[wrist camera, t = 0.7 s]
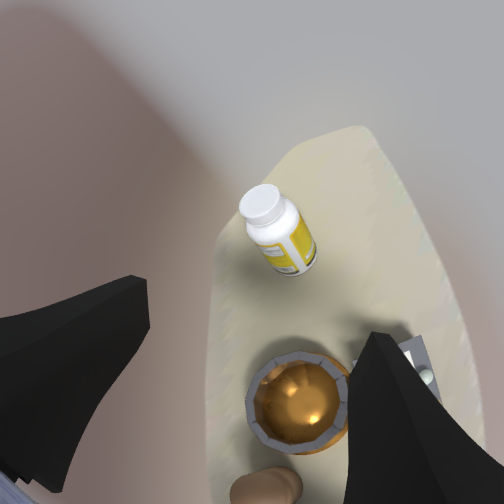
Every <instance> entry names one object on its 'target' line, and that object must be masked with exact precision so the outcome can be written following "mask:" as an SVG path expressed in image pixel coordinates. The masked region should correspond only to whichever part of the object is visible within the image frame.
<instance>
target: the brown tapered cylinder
mask: <svg viewBox="0 0 504 504" xmlns="http://www.w3.org/2000/svg"><path fill="white" fill-rule="evenodd" d="M302 491H303V484H302V481H301V478H300V477H299V476H298V474H297V473H296V472H294V471H293V470H291V469H289V468H286V467H281V466H276V467H271V468H268V469H265V470H262V471H258V472H255V473H252V474H248V475H245V476H242V477H240V478H239V479H237V480H236V481H235V482H234V484H233V485H232V487H231V490H230V501H231V504H294V503H295V502H296V501H297V500H298V499H299V498H300V496H301V494H302Z"/></svg>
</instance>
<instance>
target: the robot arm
mask: <svg viewBox="0 0 504 504" xmlns="http://www.w3.org/2000/svg"><path fill="white" fill-rule="evenodd" d="M149 329H150V321H149V310H148V297H147V282H146V279H143V278H140V277H136V276H133V275H129V276H126V277H123V278H120V279H117V280H114V281H112V282H109V283H107V284H104V285H102V286H99V287H97V288H94V289H92V290H89V291H87V292H84V293H82V294H79V295H77V296H74V297H71V298H68V299H66V300H63V301H60V302H57V303H55V304H52V305H49V306H46V307H43V308H40V309H37V310H33V311H30V312H26V313H22V314H19V315H14V316H9V317H4V318H0V504H38V503H37V502H35V501H34V500H33V499H32V498H30V497H29V496H28V495H27V494H26V493H25V492H24V491H22V490H21V489H20V488H19V487H18V486H17V485H16V484H15V482H16V481H17V479H18V478H20V479H22V480H23V481H24V482H25V483H26V484H29V483H30V482H31V480H32V479H34V480H35V481H37V482H38V483H39V484H41V485H42V486H44V487H45V488H46V489H48V490H49V491H50V492H52V493H60V492H62V489H63V485H64V482H65V479H66V475H67V472H68V469H69V466H70V463H71V461H72V458H73V456H74V453H75V451H76V448H77V446H78V443H79V441H80V439H81V437H82V435H83V433H84V431H85V428H86V426H87V424H88V423H89V421H90V419H91V417H92V415H93V413H94V411H95V410H96V408H97V406H98V404H99V403H100V401H101V400H102V398H103V397H104V395H105V394H106V393H107V391H108V390H109V388H110V387H111V386H112V384H113V383H114V382H115V380H116V379H117V377H118V376H119V375H120V374H121V372H122V371H123V370H124V368H125V367H126V366H127V364H128V363H129V362H130V360H131V359H132V358H133V356H134V355H135V353H136V352H137V350H138V349H139V347H140V345H141V344H142V342H143V340H144V338H145V336H146V334H147V333H148V330H149ZM347 415H348V454H349V463H348V477H347V484H346V491H345V497H344V503H343V504H504V466H502V465H501V464H499V463H498V462H497V461H496V460H495V459H493V458H492V457H491V456H489V454H487V453H486V452H485V451H484V450H483V449H482V448H481V447H480V446H479V445H478V444H477V443H476V442H474V441H473V440H472V439H471V438H470V437H469V436H468V435H467V433H466V432H465V431H464V430H463V429H462V428H461V427H460V426H459V425H458V424H457V422H456V421H455V420H454V419H453V418H452V417H451V416H450V415H449V413H448V412H447V411H446V410H445V408H444V407H443V406H442V405H441V403H440V402H439V401H438V400H437V398H436V397H435V396H434V394H433V393H432V392H431V390H430V389H429V388H428V386H427V385H426V384H425V382H424V381H423V380H422V378H421V377H420V375H419V374H418V373H417V371H416V370H415V368H414V367H413V366H412V364H411V363H410V361H409V360H408V359H407V357H406V356H405V354H404V353H403V352H402V350H401V349H400V348H399V346H398V345H397V343H396V342H395V341H394V340H393V338H392V337H391V336H390V335H389V334H383V333H377V332H371V334H370V336H369V338H368V340H367V342H366V345H365V347H364V349H363V351H362V353H361V355H360V357H359V359H358V360H357V362H356V364H355V366H354V368H353V370H352V372H351V374H350V376H349V385H348V398H347Z"/></svg>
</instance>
